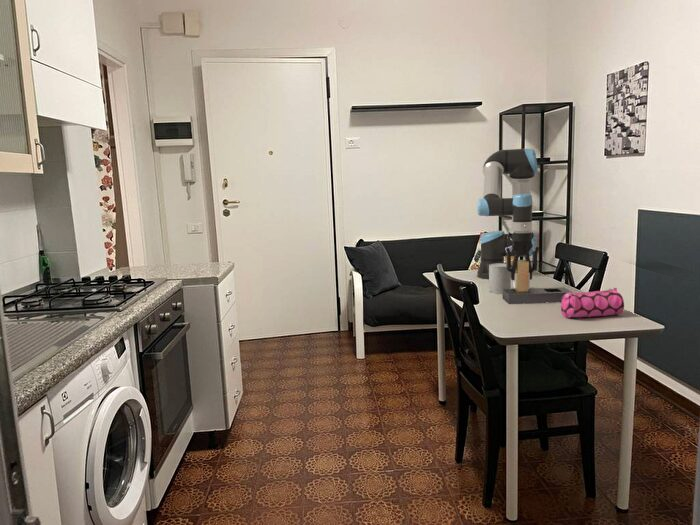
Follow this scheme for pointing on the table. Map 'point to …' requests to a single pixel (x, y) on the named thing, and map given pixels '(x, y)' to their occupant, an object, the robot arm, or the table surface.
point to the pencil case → (592, 303)
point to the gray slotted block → (535, 295)
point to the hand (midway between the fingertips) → (521, 287)
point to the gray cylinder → (499, 278)
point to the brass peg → (522, 276)
